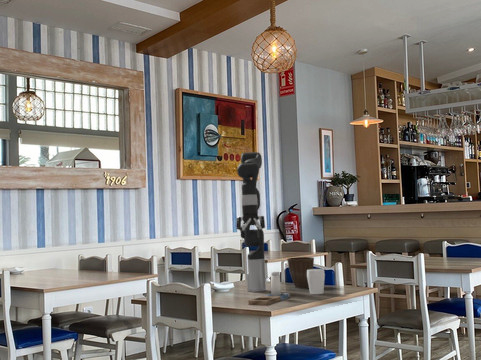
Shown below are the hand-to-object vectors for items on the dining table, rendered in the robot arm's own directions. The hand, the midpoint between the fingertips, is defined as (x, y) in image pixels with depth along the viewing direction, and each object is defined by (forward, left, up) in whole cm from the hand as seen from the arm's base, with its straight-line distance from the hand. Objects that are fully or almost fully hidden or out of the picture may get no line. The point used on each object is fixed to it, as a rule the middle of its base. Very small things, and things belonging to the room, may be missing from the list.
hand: (251, 238), depth 286 cm
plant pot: (+2, +53, -30) cm, 61 cm away
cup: (+20, +30, -30) cm, 47 cm away
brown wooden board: (+9, -1, -30) cm, 31 cm away
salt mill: (+9, +6, -30) cm, 31 cm away
